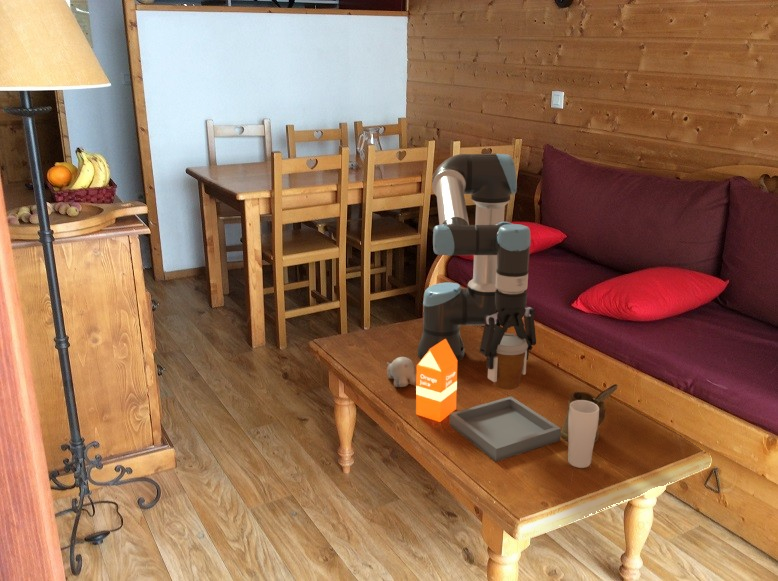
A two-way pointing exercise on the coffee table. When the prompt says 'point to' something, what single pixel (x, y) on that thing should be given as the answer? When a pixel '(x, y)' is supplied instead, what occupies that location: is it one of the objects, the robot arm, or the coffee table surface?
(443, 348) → the orange juice
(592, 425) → the drinking glass
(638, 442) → the coffee table surface
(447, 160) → the robot arm
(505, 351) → the disposable coffee cup
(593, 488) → the coffee table surface
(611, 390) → the wooden mug
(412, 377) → the round bodied animal figurine
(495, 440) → the tray
